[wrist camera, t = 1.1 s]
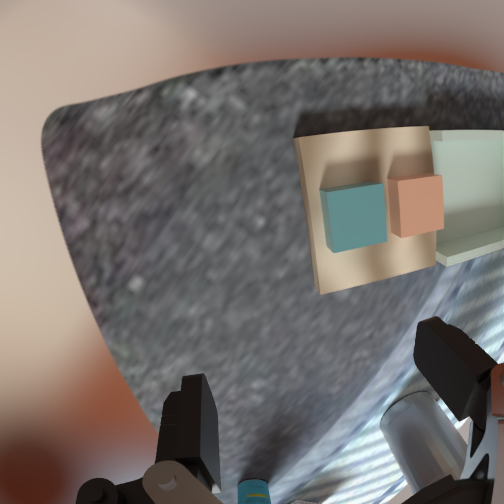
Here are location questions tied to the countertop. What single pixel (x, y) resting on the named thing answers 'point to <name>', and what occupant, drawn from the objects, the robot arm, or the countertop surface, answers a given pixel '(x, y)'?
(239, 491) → the tube
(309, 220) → the maple plate
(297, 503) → the supplement box
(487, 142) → the box
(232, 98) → the countertop surface
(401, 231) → the terracotta tile
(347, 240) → the teal square block
